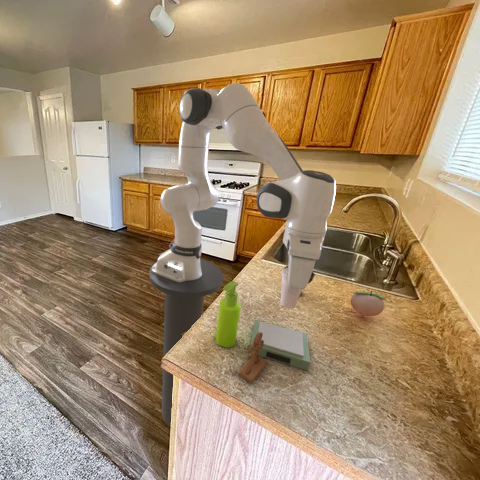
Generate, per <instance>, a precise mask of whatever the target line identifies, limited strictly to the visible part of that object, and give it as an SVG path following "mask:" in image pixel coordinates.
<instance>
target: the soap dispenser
mask: <svg viewBox="0 0 480 480" xmlns="http://www.w3.org/2000/svg"><path fill="white" fill-rule="evenodd" d="M237 286H239V282H236V281H235V280H231V281H229V282H228V283H226V284H225V285H224V287H223V288H222V290H223V291H225V295H224V298H222V299H220V301H219V305H218V314H217V322H216V331H215V342H216V344H218V345H219V346H221V347H224V348H232V347H234V346H235V344H236V340H237V334H238V327H239V321H240V315H241V307H242V305H241V303H240V302H239V301H238V298H239V297H238V296H239V294H238V293H237V291H236V289H237V288H236V287H237Z"/></svg>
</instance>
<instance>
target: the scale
mask: <svg viewBox="0 0 480 480" xmlns="http://www.w3.org/2000/svg"><path fill="white" fill-rule="evenodd" d="M258 332H261V333H262V334H263V335H262V340H264V345H263V347H262V349H259V357H261V358H262V357H263V358H266V359H268V360H272V361H275V362H278V363H281V364H284V365H287V366H291V367H294V368H297V369H301V370H304V371H307V372H308V370H309V368H310V363H311V358H310V346H309V338H308V337H309V336H308V333H306V332H302V331H299V330H295V329H291V328H288V327H284V326H280V325H276V324H272V323H269V322H265V321H263V320H259V319H254V324H253V329H252V335H251V339H250V345H251V344H253V345H254V339H255V336H256V335H257V333H258ZM259 336H260V335H259ZM260 343H261V342H260ZM259 345H260V344H259ZM253 351H256V350H255V349H253Z"/></svg>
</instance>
